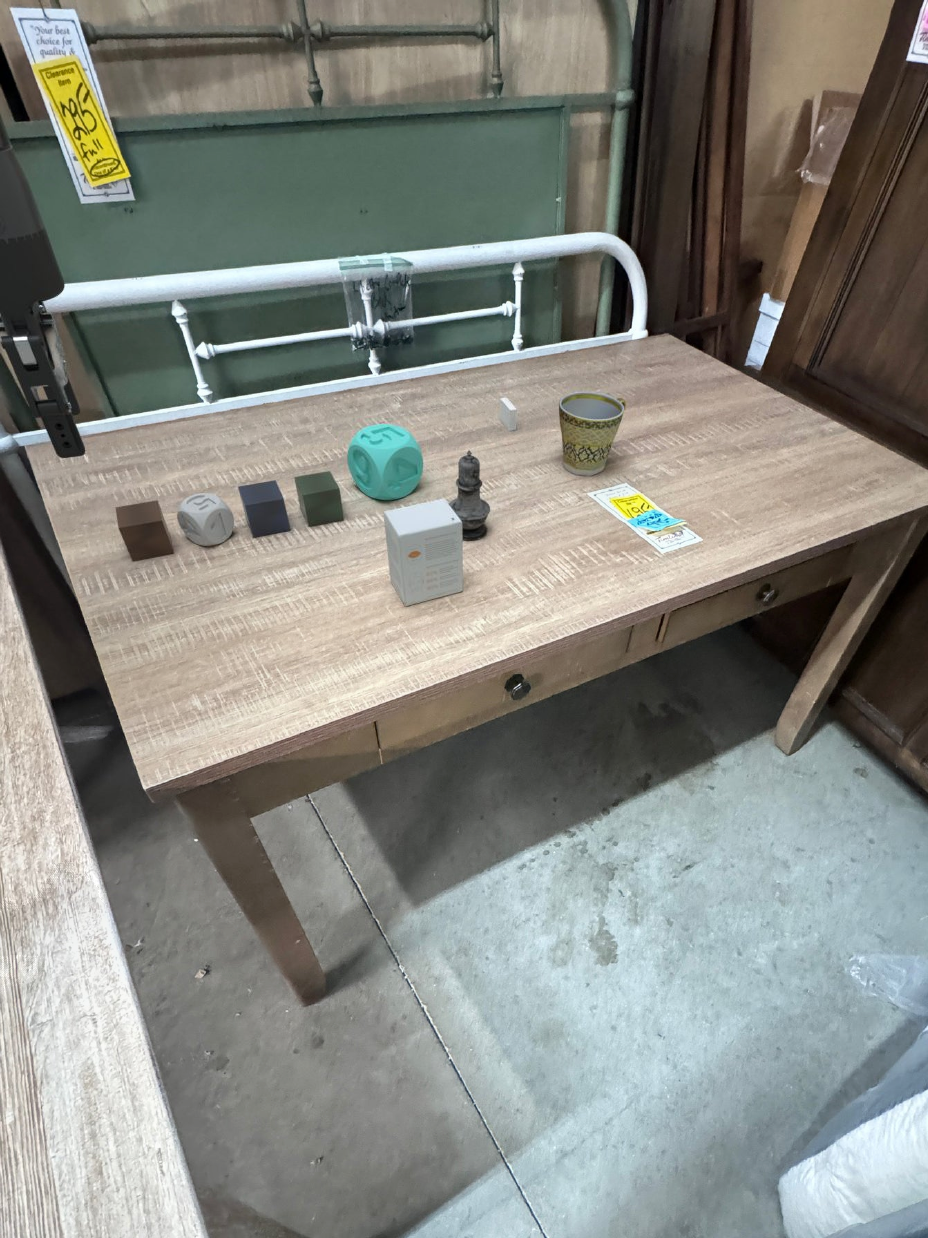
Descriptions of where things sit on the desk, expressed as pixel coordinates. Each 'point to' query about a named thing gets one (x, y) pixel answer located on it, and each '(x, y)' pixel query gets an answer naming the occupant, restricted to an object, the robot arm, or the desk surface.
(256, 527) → the row of mixed cubes
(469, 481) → the black chess piece
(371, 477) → the decorative dice
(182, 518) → the die
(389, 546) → the small box
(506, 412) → the eraser
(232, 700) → the desk surface
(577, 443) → the ceramic cup
